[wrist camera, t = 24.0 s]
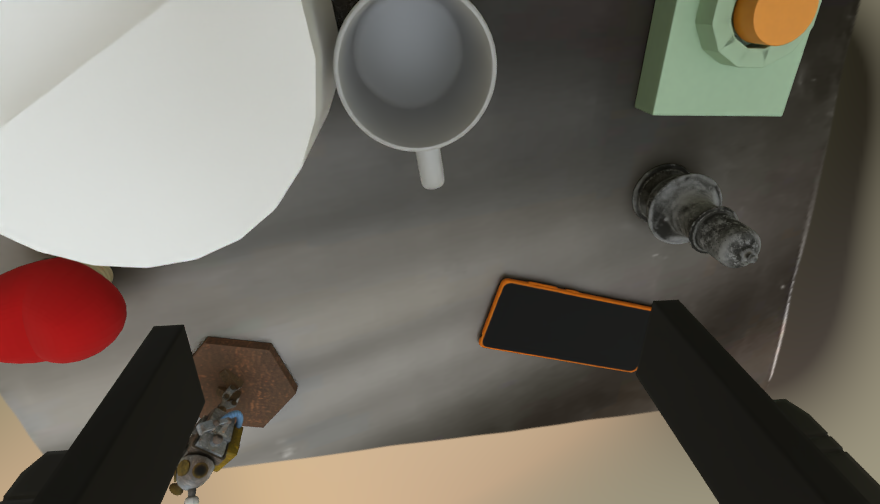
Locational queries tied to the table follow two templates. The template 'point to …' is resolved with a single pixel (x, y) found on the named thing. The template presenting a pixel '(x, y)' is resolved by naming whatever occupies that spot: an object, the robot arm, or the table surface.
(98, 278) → the red mushroom
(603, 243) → the table surface
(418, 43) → the mug
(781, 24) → the orange push button
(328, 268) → the table surface
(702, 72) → the green button housing
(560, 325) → the smartphone
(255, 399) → the robot figurine
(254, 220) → the container
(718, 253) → the salt shaker
